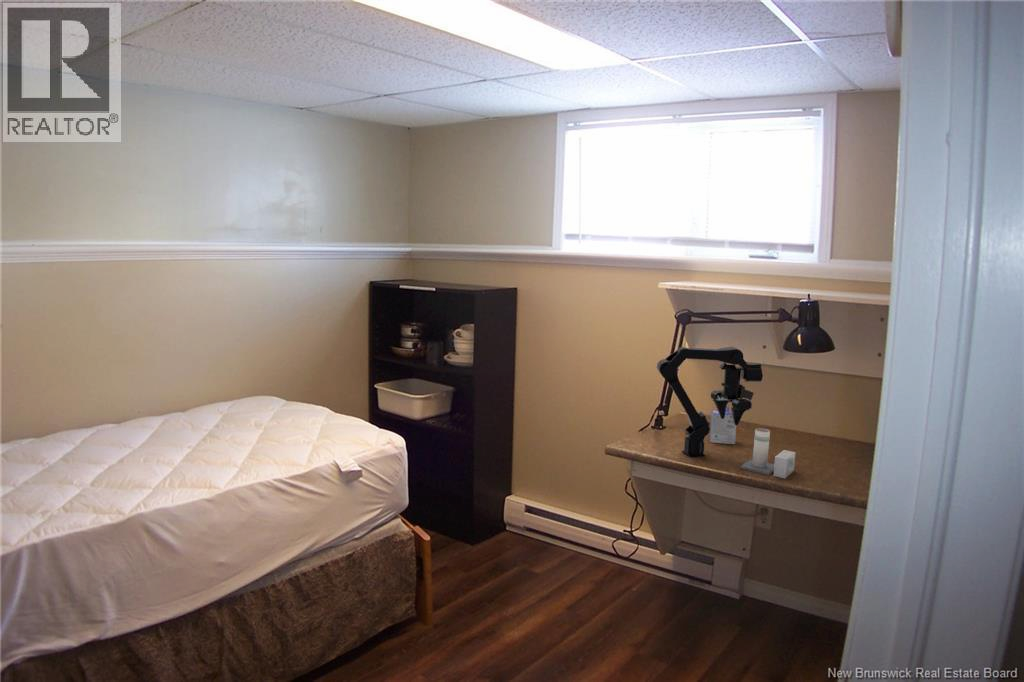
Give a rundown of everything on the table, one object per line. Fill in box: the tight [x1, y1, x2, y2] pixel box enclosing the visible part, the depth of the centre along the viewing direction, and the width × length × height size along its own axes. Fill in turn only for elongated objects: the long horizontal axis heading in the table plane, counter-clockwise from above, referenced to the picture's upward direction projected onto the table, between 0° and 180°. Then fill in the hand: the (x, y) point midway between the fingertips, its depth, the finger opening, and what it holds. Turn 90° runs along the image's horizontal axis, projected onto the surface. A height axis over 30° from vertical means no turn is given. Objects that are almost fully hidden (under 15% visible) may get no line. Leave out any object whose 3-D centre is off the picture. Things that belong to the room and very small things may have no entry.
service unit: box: [773, 449, 796, 479], centre depth 249 cm, size 4×10×7 cm, turn 143°
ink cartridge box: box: [709, 405, 737, 445], centre depth 285 cm, size 10×6×14 cm, turn 78°
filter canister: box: [752, 428, 771, 468], centre depth 253 cm, size 5×5×13 cm
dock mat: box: [740, 459, 774, 476], centre depth 254 cm, size 10×10×1 cm
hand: (729, 421), depth 267 cm, fingers open, 9 cm apart
